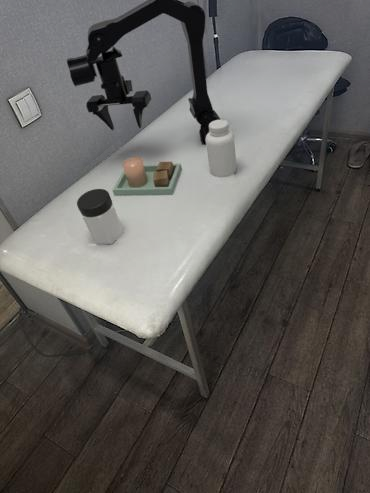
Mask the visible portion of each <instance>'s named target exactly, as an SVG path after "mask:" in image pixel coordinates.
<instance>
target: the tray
mask: <svg viewBox="0 0 370 493" xmlns="http://www.w3.org/2000/svg"><path fill="white" fill-rule="evenodd" d="M158 164H159V163H157V164H155V163H154V164H152V163H151V164H150V163H149V164H144V168H145V172H146V175H147V179H148V182H147V183H146V184H145V185H144V186H142V187H139V188H132V187H130V186H129V184H128V181H127V178H126V175H125V172H124V169H123V170H122V172H121V174H120V176H119V177H118V180H117V181H116V183H115V185H114V187H113V189H112V193H113V195H114V196H116V197H118V196H119V197H121V196H124V197H125V196H173V194H174V191H175V189H176V185H177V183H178V180H179V178H180V175H181V172H182V169H183V168H182V164H181V163H179V162H178V163H176V162H175V163H173V167H174V174H173V176H172V179H171V180H170V184H169V187H155V185H154V182H153V173H154V172H157V171H156V169H157V167H158Z"/></svg>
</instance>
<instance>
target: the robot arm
mask: <svg viewBox="0 0 370 493" xmlns="http://www.w3.org/2000/svg"><path fill="white" fill-rule="evenodd" d="M162 14H165V15H166V16H169V17H171V18H173V19H176V20H177V21H179V23H180V25H181V29H182V31H183V33H184V36H185V37H184V38H185V40H186V43H187V50H188V58H189V66H190V67H189V68H190V73H191V74H190V76H191V83H192V92H193V93H192V97H189V98H188V103H189V111H190V114H191V115H192V117H193V119H195V121H196V122H197V123H198V124H199V125H200V127H199V131H198V133H199V137H200V138H199V139H200V142H201V145H203V146H206V140H205V139H206V135H207V134H208V133H209V124H210V123H211V122H212V121H215V120H222V118H220V116H219V115H218V114H217V113H218V112H217V111H215V110H214V108H213V104H212V102H211V100H210V97H209V94H208V86H207V83H208V82H207V76H206V67H205V54H204V45H203V43H204V42H203V40H204V36H205V31H206V13H205V11H204V9H203V8H202V7H201V6H200V5H199V4H197V3H195V2H194V1H191V0H190V1H186V2H183V1H181V0H145V1H144V2H142V3H140V4H138V5H136V6H135V7H133V8H132V9H129V10H128V11H126V12H124V13H123V14H121V15H119V16H117V17H115V18H112V19H107V20H103V21H99V22H97V23H93V24H92V25H91V26H89V28H88V31H87V42H88V44H87V48H86V50H85V53H86V54H84V55H81V56H80V55H79V56H76V57H69V58H66V64H67V67H68V70H69V75H70V79H71V82H72V83H73V85H74V87H78V86H83V85H86V84H89V83H94V82H95V80H96V77H98V75H97V72H98V74H99V78H100V81H101V84H100V88H101V89H102V90H104V93H105V95H104V94H98V95H97V94H96V95H92V96H91V97H90V98H89V100H87V101H86V106H85V107H86V110H87V112H88V113H92V114H93V115H94V116H95V115H96V117H98V118H99V119H100V120H101V121H102V122H103V123H104V124H105V125H106V126H107V127H109V129H110V130H111V131H113V130H115V126H114V123H113V120H112V117H111V114H110V111H109V106H119V105H127V104H128V105H129V104H131V105H132V107H133V110H132V111H133V115H134V118H135V120H136V123H137V127H138V129H141V128H142V124H143V113H144V110H145V108H147V107H148V106H149V104H150V103H151V100H152V96H151V93H150V92H149V91H148V90H138V91H135V92H134V94H133V95H132V96H128V95H129V94H130V92H133V91H134V90H133V84H132V79H127V80H126V79H125V77H124V75H122V74H121V70H120V67H119V64H118V58H121V57H123V54H122V51H121V50H120V49H118V48H116V47H115V45H117V43H118V42H119V41H120V40H121V39H122V38H123V37H124V36H125V35H127V34H129V33H130V32H133V31H134V30H136V29H138V28H139V27H141V26H143V25H145V24H147V23H148V22H149V21H152V20H154V19H155V18H157V17H159V16H161V15H162ZM110 49H111V50H110ZM95 64H96V65H95ZM95 66H96V67H95ZM96 69H97V70H96Z"/></svg>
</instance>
